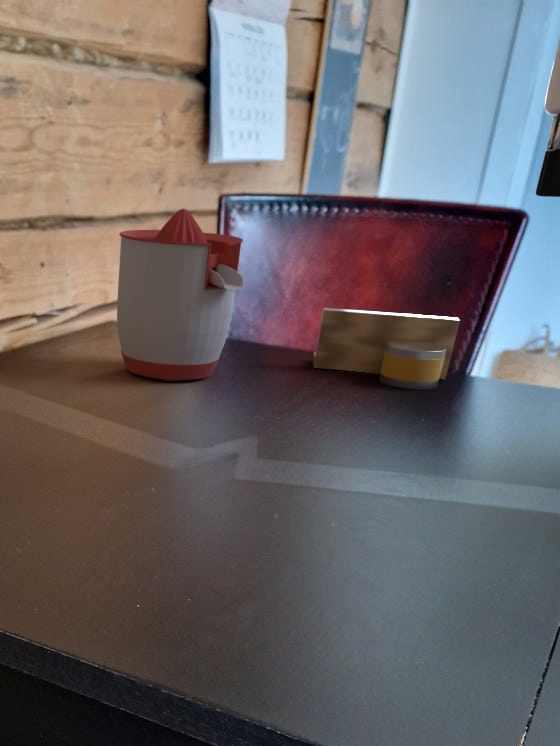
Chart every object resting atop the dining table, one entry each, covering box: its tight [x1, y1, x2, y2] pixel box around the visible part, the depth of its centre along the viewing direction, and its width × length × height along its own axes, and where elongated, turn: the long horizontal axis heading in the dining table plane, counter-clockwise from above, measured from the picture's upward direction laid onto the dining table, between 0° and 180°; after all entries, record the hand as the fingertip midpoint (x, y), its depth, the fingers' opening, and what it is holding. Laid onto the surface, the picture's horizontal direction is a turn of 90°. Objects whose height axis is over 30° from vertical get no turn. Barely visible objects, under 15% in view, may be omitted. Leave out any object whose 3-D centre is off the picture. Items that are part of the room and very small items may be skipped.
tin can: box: [378, 340, 446, 391], centre depth 116 cm, size 8×8×5 cm
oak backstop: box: [312, 307, 461, 381], centre depth 121 cm, size 18×6×8 cm, turn 79°
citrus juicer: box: [116, 208, 244, 382], centre depth 111 cm, size 16×17×20 cm
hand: (553, 195), depth 87 cm, fingers closed
